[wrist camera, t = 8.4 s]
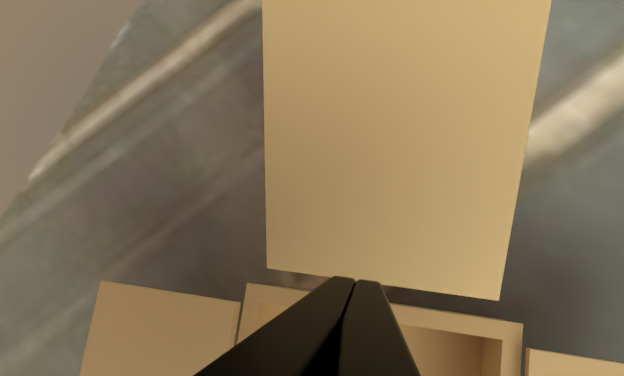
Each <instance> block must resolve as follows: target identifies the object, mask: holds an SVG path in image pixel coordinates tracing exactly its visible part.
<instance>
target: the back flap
mask: <svg viewBox="0 0 624 376" xmlns="http://www.w3.org/2000/svg"><path fill="white" fill-rule="evenodd" d="M551 1H552V0H262V22H263V79H264V137H265V194H266V251H267V268H268V269H275V270H282V271H289V272H296V273H303V274H311V275H318V276H325V277H333V276H343V277H350V278H354V279H355V280H356V281H357V280H359V279H364V280H371V281H377V282H379V283H380V284H382V285H389V286H396V287H403V288H410V289H417V290H425V291H432V292H439V293H446V294H453V295H460V296H467V297H474V298H481V299H489V300H496V301H499V296H500V291H501V285H502V279H503V274H504V268H505V262H506V257H507V251H508V245H509V240H510V234H511V228H512V223H513V217H514V211H515V206H516V200H517V194H518V188H519V183H520V177H521V171H522V166H523V160H524V154H525V149H526V143H527V137H528V132H529V126H530V120H531V115H532V109H533V103H534V98H535V92H536V86H537V81H538V75H539V69H540V64H541V58H542V52H543V47H544V41H545V35H546V30H547V24H548V18H549V13H550V7H551Z"/></svg>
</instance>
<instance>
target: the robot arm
mask: <svg viewBox="0 0 624 376" xmlns="http://www.w3.org/2000/svg"><path fill="white" fill-rule="evenodd" d="M193 376H421V375H420V373H419V370H418V368H417V366H416V363H415V361H414V359H413V357H412V354H411V352H410V350H409V347H408V345H407V343H406V340H405V338H404V336H403V334H402V331H401V329H400V327H399V324H398V322H397V320H396V317H395V315H394V313H393V311H392V308H391V306H390V304H389V301H388V299H387V297H386V294H385V292H384V290H383V288H382V285H381V284H380V283H379V282H377V281H371V280H364V279H359V280H357V282H356V280H355V279H354V278H350V277H343V276H333V277H331V278H329V279H328V280H327V281H325V282H324V283H322V284H321V285H320V286H318V287H317V288H315V289H314V290H313V291H311V292H310V293H308V294H307V295H306V296H304V297H303V298H301V299H300V300H298V301H297V302H296V303H294V304H293V305H291V306H290V307H289V308H287V309H286V310H284V311H283V312H282V313H280V314H279V315H277V316H276V317H275V318H273V319H272V320H270V321H269V322H268V323H266V324H265V325H263V326H262V327H260V328H259V329H258V330H256V331H255V332H253V333H252V334H251V335H249V336H248V337H246V338H245V339H244V340H242V341H241V342H239V343H238V344H237V345H235V346H234V347H232V348H231V349H230V350H228V351H227V352H225V353H224V354H222V355H221V356H220V357H218V358H217V359H215V360H214V361H213V362H211V363H210V364H208V365H207V366H206V367H204V368H203V369H201V370H200V371H199V372H197V373H196V374H194V375H193Z"/></svg>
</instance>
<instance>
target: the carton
mask: <svg viewBox="0 0 624 376" xmlns="http://www.w3.org/2000/svg"><path fill="white" fill-rule="evenodd" d="M310 292H311V291H309V290H302V289H295V288H289V287H282V286H273V285H263V284H253V283H247V286H246V292H245V298H244V304H243V310H242V316H241V322H240V328H239V334H238V340H237V344H238V343H239V342H241V341H242V340H244V339H245V338H246V337H248V336H249V335H251V334H252V333H253V332H255V331H256V330H258V329H259V328H260V327H262V326H263V325H265V324H266V323H268V322H269V321H270V320H272V319H273V318H275V317H276V316H277V315H279V314H280V313H282V312H283V311H284V310H286V309H287V308H289V307H290V306H291V305H293V304H294V303H296V302H297V301H298V300H300V299H301V298H303V297H304V296H306V295H307V294H308V293H310ZM389 304H390V306H391V308H392V311H393V313H394V315H395V317H396V320H397V322H398V324H399V327H400V329H401V331H402V334H403V336H404V338H405V340H406V343H407V345H408V347H409V350H410V352H411V354H412V357H413V359H414V361H415V363H416V366H417V368H418V370H419V373H420V375H421V376H520V375H521V356H522V337H523V324H521V323H516V322H512V321H507V320H502V319H498V318H491V317H484V316H478V315H471V314H464V313H457V312H451V311H444V310H437V309H430V308H424V307H417V306H410V305H403V304H397V303H390V302H389ZM240 307H241V302H237V301H231V300H224V299H218V298H212V297H205V296H199V295H193V294H186V293H180V292H174V291H167V290H161V289H155V288H148V287H142V286H136V285H130V284H123V283H117V282H111V281H100V285H99V290H98V294H97V298H96V303H95V307H94V312H93V316H92V321H91V325H90V329H89V334H88V338H87V343H86V347H85V352H84V356H83V361H82V365H81V369H80V374H79V376H193V375H194V374H196V373H197V372H199V371H200V370H201V369H203V368H204V367H206V366H207V365H208V364H210V363H211V362H213V361H214V360H215V359H217V358H218V357H220V356H221V355H222V354H224V353H225V352H227V351H228V350H230V349H231V348H232V347H234V342H235V336H236V330H237V325H238V319H239V313H240ZM524 376H624V363H622V362H616V361H609V360H603V359H597V358H590V357H584V356H578V355H571V354H565V353H559V352H552V351H546V350H540V349H533V348H527V347H525V367H524Z"/></svg>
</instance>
